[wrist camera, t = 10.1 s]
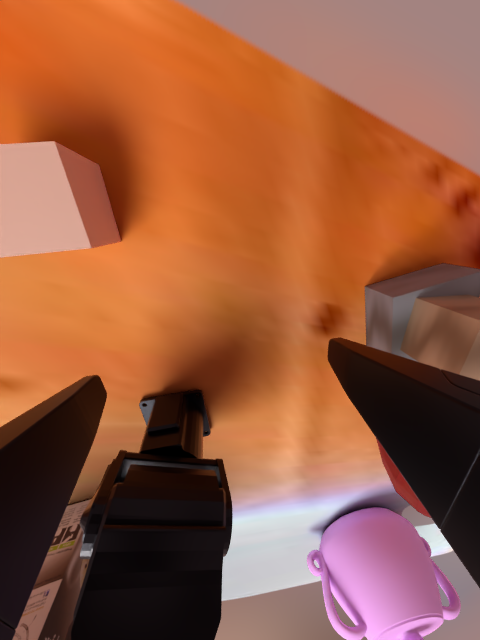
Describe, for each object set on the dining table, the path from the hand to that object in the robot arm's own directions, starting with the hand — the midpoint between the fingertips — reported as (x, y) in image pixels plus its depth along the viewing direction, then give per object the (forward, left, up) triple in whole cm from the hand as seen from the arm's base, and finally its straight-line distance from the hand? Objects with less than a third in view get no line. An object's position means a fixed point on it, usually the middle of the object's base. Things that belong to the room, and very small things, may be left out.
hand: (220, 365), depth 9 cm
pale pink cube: (+7, +9, -12) cm, 17 cm away
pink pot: (-50, -19, -12) cm, 55 cm away
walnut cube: (-5, -19, -8) cm, 21 cm away
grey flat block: (-5, -19, -12) cm, 23 cm away
